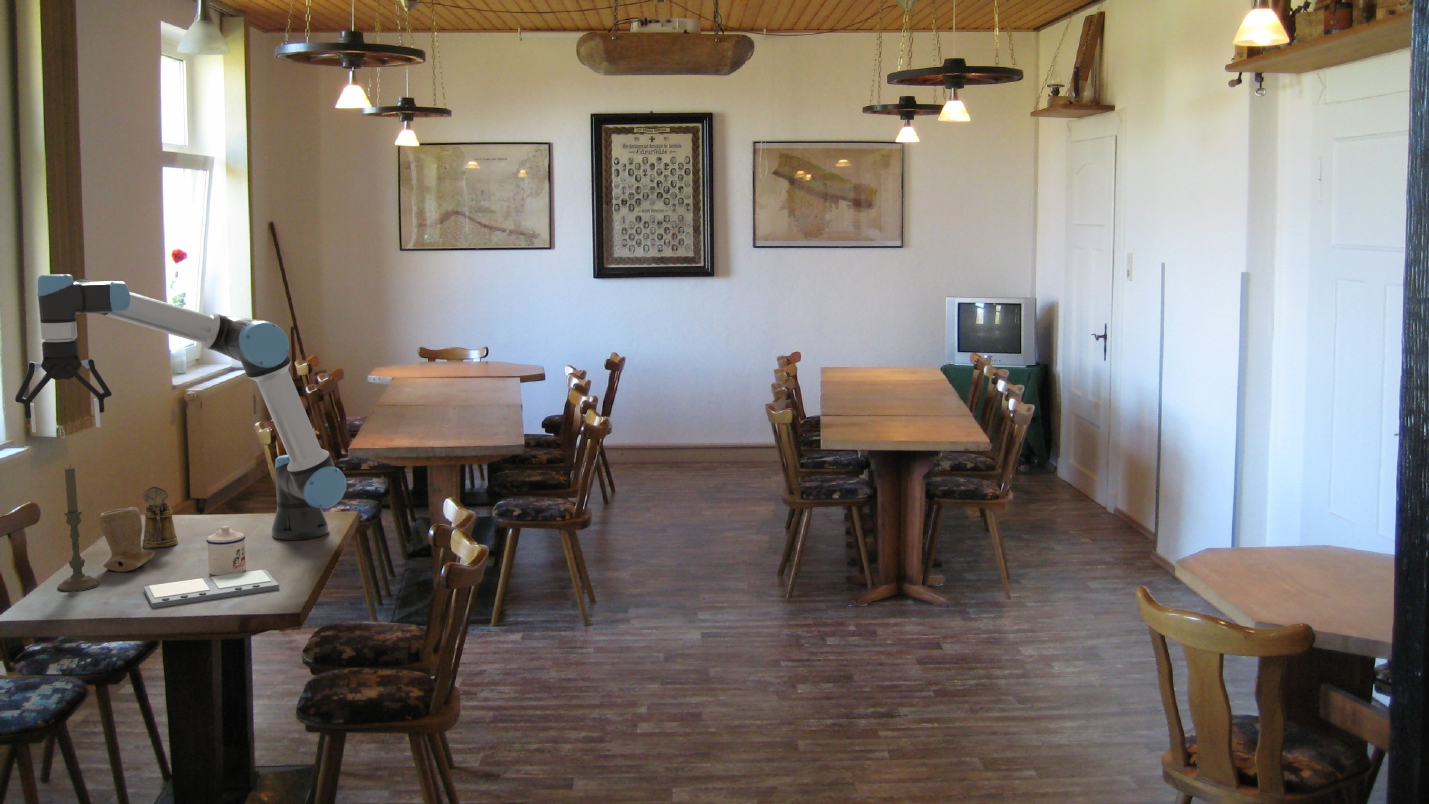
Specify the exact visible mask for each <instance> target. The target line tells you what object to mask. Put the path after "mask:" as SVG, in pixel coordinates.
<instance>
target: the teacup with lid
mask: <svg viewBox="0 0 1429 804" xmlns="http://www.w3.org/2000/svg"><path fill="white" fill-rule="evenodd" d="M245 539H246V536H245V534H244V533H242V532H239V531H235V530H234V529H231V528H230V526H229V525H223V526H221V527H220V530H218V531H216V532H215V533H213V534H210V535H208V536H207V538H206V543H207V553H208V555H207V557H208V571H209V574H211V575H213V576H222V575H229V574H236V573H243V572H245V571H246V569H247V564H246V549H245V548H246V547H245V546H246V545H245Z"/></svg>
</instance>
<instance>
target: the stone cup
mask: <svg viewBox="0 0 1429 804" xmlns="http://www.w3.org/2000/svg"><path fill="white" fill-rule="evenodd" d="M141 516H142V515H141V512H140V510H139V508H138V507H135V506H130V507H125V508H118V509H113V510H108V511H104V512H102V513H100V515H99V524H100V529H101V531H102V534H103V536H104V538H105V539H106V542H107V544H108V547H109V549H110V551H111V556H110V557H109V559H108V560H107V561H106V562H104V564H103V567H104V568H105V569H107V570H110V571H114V572H117V573H119V572H120V573H121V572H122V573H125V572H128V571H132V570H135V569H137V568H139V567H142V565H144V564H145V563H147V562H149V561H150V560H151V559H152V558H153V557H154V556H155V551H153V550H146V549H145V550H143V547H142V545H141V543H142V541H141V540H142V532H143V523H142V518H141Z"/></svg>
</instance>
